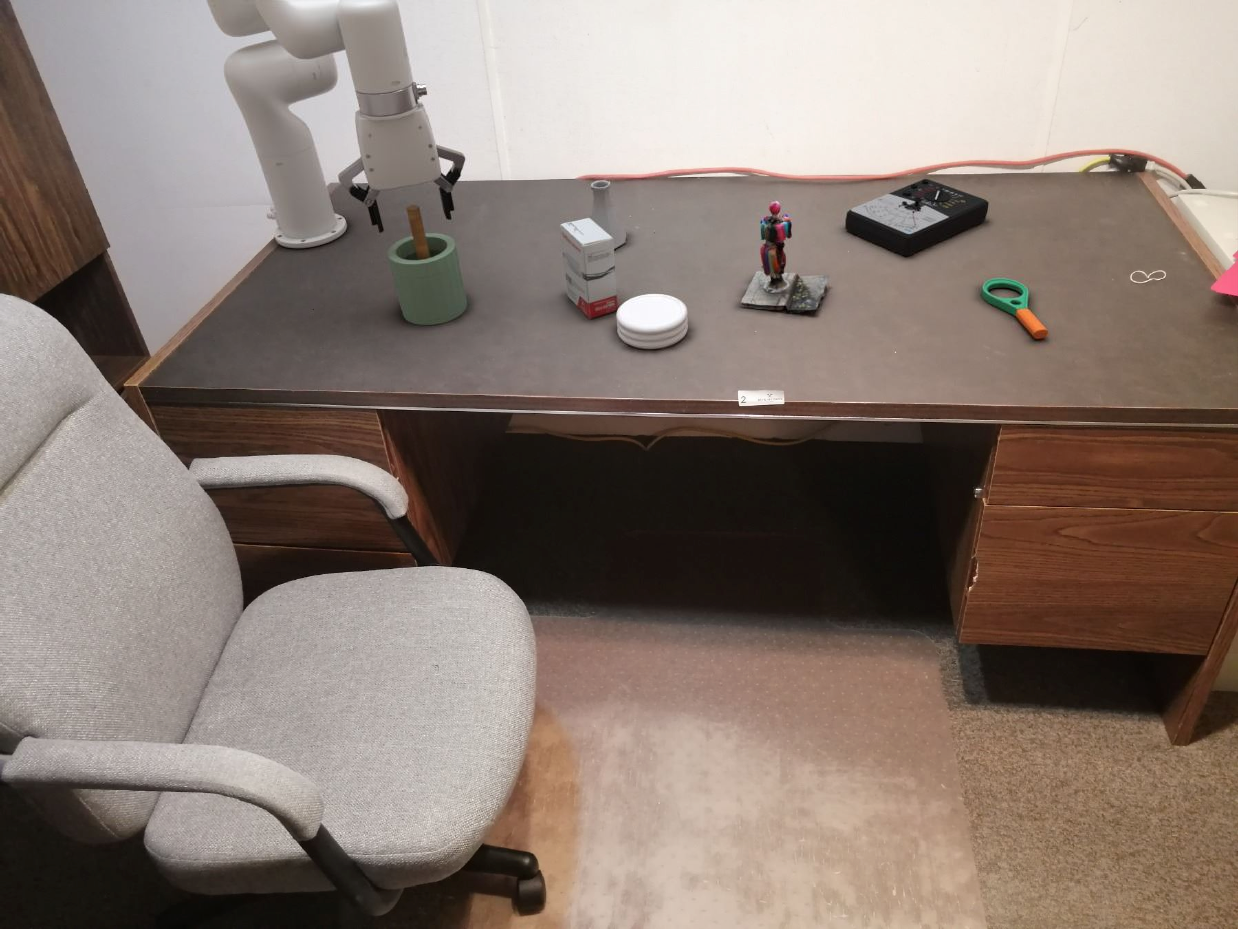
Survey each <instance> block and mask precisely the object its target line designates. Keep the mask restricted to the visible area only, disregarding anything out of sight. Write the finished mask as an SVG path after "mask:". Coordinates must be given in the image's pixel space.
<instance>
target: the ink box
mask: <svg viewBox="0 0 1238 929" xmlns="http://www.w3.org/2000/svg"><path fill="white" fill-rule="evenodd" d="M590 218H591V217H586V218H581V219H577V220H574V221H567V222H563V223H561V224H560V225H559V231H560V238H561V248H562V249H561V250H562V258H563V267H564V278H565V279H564V280H565V285H566V286H565V287H566V289H565V290H566V296H567V297H568V298H569V300H571V301H572V302H573V303H574V304H575V306H576V307H578V309H579V310H580V311H581V312H582V313H583V315H585V316H586V317H587V318H588V319H594V318H597V317H601V316H604V315H608V314H611V313H614V312H617V311H618V309H619V307H618V292H617V278H616V277H617V276H616V261H615V260H616V259H615V249H614V242H613V238H612V237H611V236H610V235H609V234H608V233H606V232H605V231H604V230H603V229H602V228H601V227H599V226H598V225H597V224H596V223H595V222H594V221H592V220H591V219H590Z"/></svg>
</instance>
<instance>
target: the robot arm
mask: <svg viewBox="0 0 1238 929" xmlns="http://www.w3.org/2000/svg"><path fill="white" fill-rule="evenodd" d="M206 2H207V5H208V8H209V10H210V12H211V15H212V17H213V20H214V22H215V24H216V25H217V27H218V28H219V29H220V30H221V32H222V33H223V34H225V35H227V36H229V37H233V38H241V37H247V36H253V35H258V34H261V33H266V32H269V31H271V33H272V34H273V36H274V37H275V38H274V39H270V40H266V41H262V42H259V43H255V44H251V45H246V46H244V47H241V48H238V49H237V50H235V51H233V52H232V53H231V54H229V56H227V58H225V59H226V60H225V61H224V64H223V74H224V79H225V82H226V84H227V87H228V89H229V91H230V93H231V94H232V97H233V99H234V100H235V103H236V104H237V107H238V109H239V111H240V112H241V115H242V118H243V120H244V122H245V125H246V128H247V130H248V132H249V135H250V137H251V141H252V143H253V144H252V145H253V148H254V149H255V150H254V151H255V152H256V156H257V159H258V162H259V165H260V167H261V168H260V169H261V170H262V171H261V172H262V173H263V174H262V175H263V176H264V180H265V183H266V186H267V188H268V192H269V195H270V198H271V201H272V204H270V207H269V208H270V210H268V211H267V212H266V214H265V215H266V218H267V219H269V220H274V221H275V222H276V225H277V228H275V230H274V233H273V234H274V235H273V236H274V239H275V242H276V243H277V244H278V245H279V246H282V247H284V248H289V249H307V248H314V247H318V246H321V245H325V244H328V243H330V242H333V241H335V240H336V239H338V238H339V237H341V236H342V235H344V233H345V232H346V231H347V228H348V224H347V221H346V219H345V217H344V216H342V215H341V214H338V213H335V210H334V206H333V204H332V200H331V197H330V192H329V190H328V186H327V182H326V180H325V176H324V172H323V168H322V165H321V161H320V158H319V155H318V151H317V148H316V144H315V141H314V137H313V134H312V132H311V129H310V128H309V126H308V124H307V123H306V122H305V121H304V120H303V119H301V118H300V117H299V116H297V115H296V114H294V113H293V112H292V111H291V110H290V109H289V107H290V106H291V105H293V104H296V103H297V102H302V101H305V100H308V99H312V98H315V97H319V96H322V95H325V94H327V93H329V92H331V91H332V90H334V88H336V86H337V83H338V81H339V80H338V79H339V72H338V68H337V67H338V66H337V63H336V58H335V55H334V54H335V53H340V52H343V51H345V54H346V58H347V62H348V67H349V70H350V74H351V78H352V79H351V80H352V83H353V87H354V92H355V95H356V99H357V104H358V108H359V109H358V110H357V111H355V113H354V119H355V120H354V121H355V131H356V138H357V139H356V140H357V144H358V149H359V154H360V157H359V158H358V159H356V160H355V161H354V162H352V163H351V164H350V165H348V166H347V167H346V168H345V169H343V170H342V171H341V172H339V173H338V175H337V177H338V182H339V183H340V185H342V186H343V188H345V189H346V191H347V192H348V193H349V194H350V196H352V197H353V198H355V199H356V200H358V201H359V202H361V203H362V204H364V206H366V207H367V211H368V215H369V218H370V219H369V220H370V223H371V226H377V230H378V233H379V234H381V233H383V232H384V231H385V229H384V225H383V220H382V217H381V212H380V209H379V205H378V204H379V203H378V200H377V197H378V196H379V194H380V192H383V191H391V190H396V189H401V188H407V187H412V186H413V187H414V186H418V185H423V184H429V183H435V184H436V185H437V186H438V190H439V196H440V199H441V200H440V201H441V206H442V211H443V214H444V216H445V217H444V218H445V219H446V220H448V221H450V220H452V218H453V217H452V213H451V212H454V211H455V206H454V200H453V194H452V191H453V189H454V186H455V185H456V184H457V182H458V181H459V179H460V178H461V176H462V170H463V168H464V165H465V163H466V156H465V154H464V153H463V152H461V151H457V150H454V149H451V148H448V147H445V146H443V145H439V144H436V140H435V137H434V133H433V128H432V126H431V123H430V119H429V115H428V113H427V110H426V107H425V106H424V103H423V102H422V101H419V100H420V98H422V97H424V96H428V90H427V85H426V84H425V83H422V84H420V83H416V81H414V78H413V72H412V67H411V63H410V58H409V52H408V48H407V42H406V38H405V32H404V27H403V22H402V17H401V13H400V8H399V5H398V2H397V0H206ZM440 159H444V160H446V161H450V162H452V166H451V168H450V169H449V170H448V172H447V173H446V174H445V173H443V172H442V167H441V161H440ZM362 172H364V175H365V178H366V181H367V184H366V186H365V188H362V187H361V186H359V185H358V184H356V183H355V182H354V181H353V179H354V178H356V177H357V176H358V175H359V174H361V173H362Z"/></svg>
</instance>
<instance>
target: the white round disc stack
mask: <svg viewBox="0 0 1238 929" xmlns="http://www.w3.org/2000/svg"><path fill="white" fill-rule="evenodd" d="M688 314H689V313H688V308H687V306H686V304H685V303H684V302H683V301H682V300H680V299H679V298H676V297H675V296H672V295H668V294H662V293H648V294H642V295H638V296H634V297H631V298H629V299H627V300H626V301H624V302H623V303H621V305H620V306H619V307H618V310H617V311H616V315H615V318H616V327H617V328H616V331H617V334H618V337H619V339H620V340H621V341H622V342H624V343H625V344H627V345H629V346H631V347H634V348H638V349H644V350H657V349H663V348H666V347H670V346H673V345H675V344H676V343H678V342H679V341H681V340H682V339H683V338H685V336H686V334H687V332H688V329H689V325H688V324H689V323H688V322H689V318H688Z"/></svg>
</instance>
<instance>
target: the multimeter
mask: <svg viewBox="0 0 1238 929" xmlns="http://www.w3.org/2000/svg"><path fill="white" fill-rule="evenodd" d="M989 203H990V202H989V201H988V200H987V199H985V198H982V197H979V196H976V195H974V194H971V193H968V192H965V191H963V190H960V189H957V188H955V187H951V186H948V185H945V184H944V183H940V182H937V181H935V180H932V179H928V178H924V179H921V180H918V181H916V182H914V183H910V184H909V185H906V186H903V187H901V188H899V189H897V190H893V191H891V192H888V193H887V194H883V195H882V196H879V197H877V198H874V199H871V200H869V201H867V202H864V203H862V204H860V205H857V206H854V207H852V208H850V209H849V210H848V211H847V212H846V216H845V226H844V229H845V230H846V231H847V232H849V233H851V234H852V235H856V236H858V237H860V238H863V239H865V240H867V241H869V242H872V243H874V244H876V245H878V246H880V247H883V248H884V249H887V250H889V251H891V252H894V253H897V254H898V255H901V256H903V257H908V256H911V255H913V254H915V253H918V252H920V251H922V250H924V249H926V248H928V247H930V246H933V245H935V244H937V243H940V242H942V241H944V240H946V239H948V238H950V237H953V236H954V235H957V234H960V233H961V232H964V231H966V230H968V229H970V228H972V227H975V226H977V225H980V224H981V223H983V222H984V221H985V220H986V218H987V215H988V212H989V205H990V204H989Z"/></svg>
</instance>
